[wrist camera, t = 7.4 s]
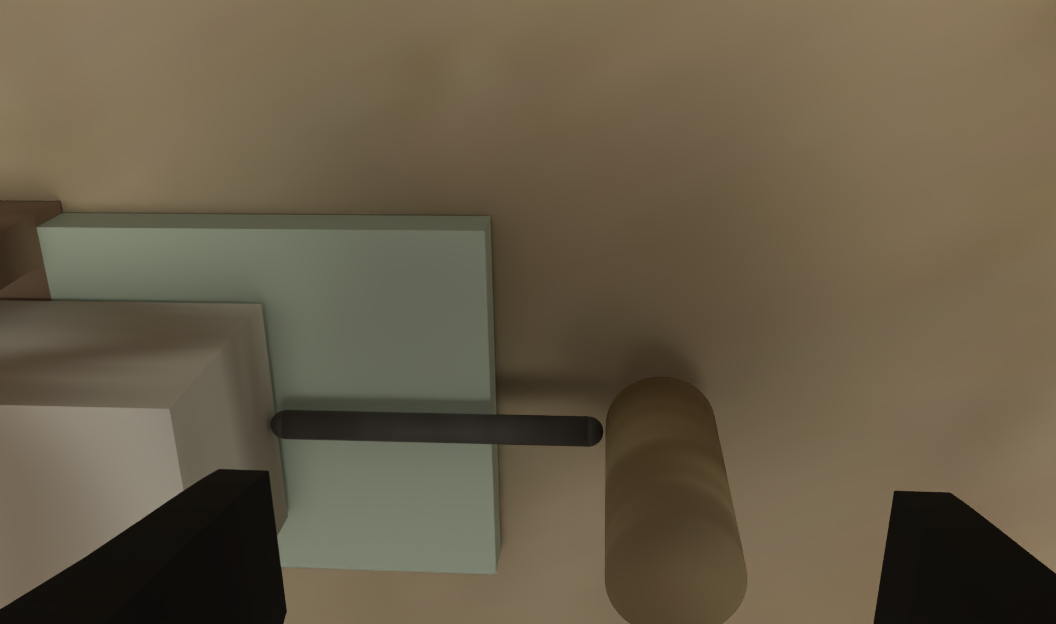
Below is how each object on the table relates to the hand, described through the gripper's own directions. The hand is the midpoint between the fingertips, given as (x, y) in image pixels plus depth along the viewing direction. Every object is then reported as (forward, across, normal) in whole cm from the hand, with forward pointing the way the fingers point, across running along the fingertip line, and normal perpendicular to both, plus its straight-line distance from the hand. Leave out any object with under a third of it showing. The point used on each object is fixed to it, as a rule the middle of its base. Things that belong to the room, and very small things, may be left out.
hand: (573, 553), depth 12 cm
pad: (+10, +6, +3) cm, 12 cm away
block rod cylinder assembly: (+8, +5, +3) cm, 10 cm away
